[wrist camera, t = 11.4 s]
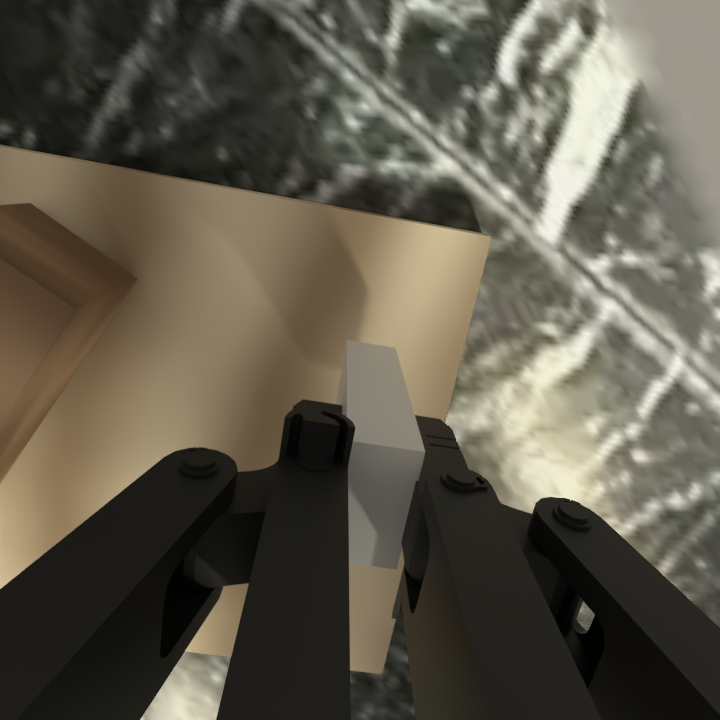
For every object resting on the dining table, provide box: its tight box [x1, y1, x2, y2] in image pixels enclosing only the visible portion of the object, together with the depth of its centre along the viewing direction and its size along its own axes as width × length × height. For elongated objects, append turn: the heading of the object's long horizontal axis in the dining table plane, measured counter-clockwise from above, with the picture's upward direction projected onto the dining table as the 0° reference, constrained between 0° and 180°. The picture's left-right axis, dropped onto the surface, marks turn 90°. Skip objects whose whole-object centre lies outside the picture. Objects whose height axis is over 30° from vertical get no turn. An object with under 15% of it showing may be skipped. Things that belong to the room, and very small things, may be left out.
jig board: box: [0, 145, 492, 674], centre depth 17 cm, size 24×18×6 cm
